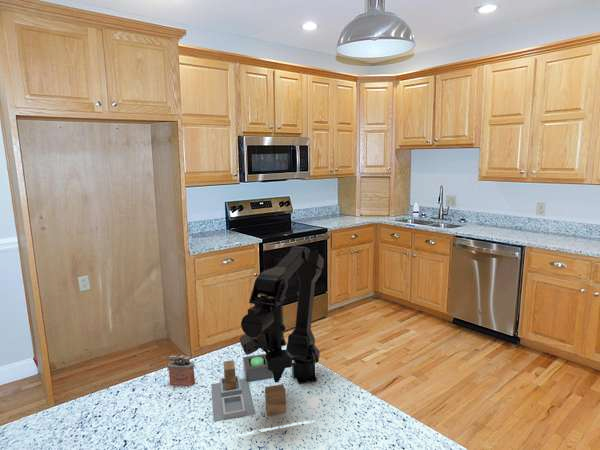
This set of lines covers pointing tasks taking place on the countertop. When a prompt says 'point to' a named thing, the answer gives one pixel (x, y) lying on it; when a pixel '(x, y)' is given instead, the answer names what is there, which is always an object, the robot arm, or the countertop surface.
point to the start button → (257, 361)
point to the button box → (256, 369)
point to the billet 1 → (229, 375)
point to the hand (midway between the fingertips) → (274, 376)
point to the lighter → (181, 371)
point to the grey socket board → (231, 400)
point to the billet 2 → (275, 399)
